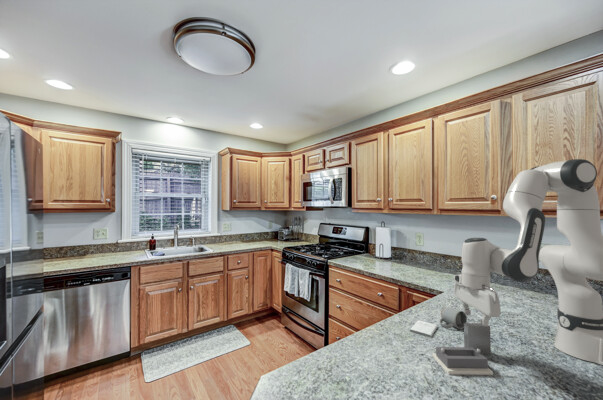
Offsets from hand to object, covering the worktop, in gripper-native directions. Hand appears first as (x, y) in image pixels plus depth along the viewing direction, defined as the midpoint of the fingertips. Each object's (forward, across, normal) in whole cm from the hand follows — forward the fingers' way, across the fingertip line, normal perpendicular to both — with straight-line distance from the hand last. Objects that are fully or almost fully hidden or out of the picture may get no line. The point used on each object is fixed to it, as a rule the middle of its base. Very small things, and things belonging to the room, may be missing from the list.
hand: (475, 319), depth 93 cm
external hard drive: (+13, +18, +10) cm, 24 cm away
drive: (+12, 0, -1) cm, 12 cm away
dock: (+12, -8, +10) cm, 18 cm away
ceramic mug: (+12, +22, -4) cm, 25 cm away
